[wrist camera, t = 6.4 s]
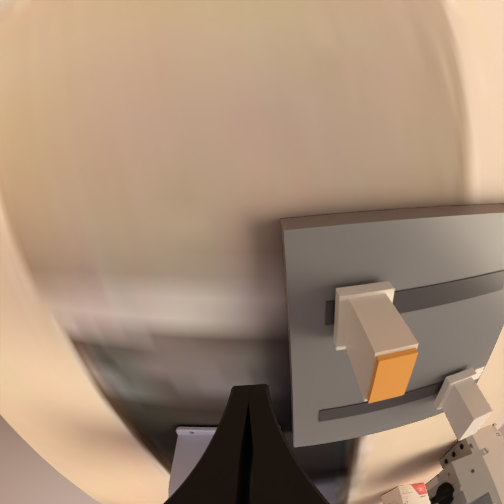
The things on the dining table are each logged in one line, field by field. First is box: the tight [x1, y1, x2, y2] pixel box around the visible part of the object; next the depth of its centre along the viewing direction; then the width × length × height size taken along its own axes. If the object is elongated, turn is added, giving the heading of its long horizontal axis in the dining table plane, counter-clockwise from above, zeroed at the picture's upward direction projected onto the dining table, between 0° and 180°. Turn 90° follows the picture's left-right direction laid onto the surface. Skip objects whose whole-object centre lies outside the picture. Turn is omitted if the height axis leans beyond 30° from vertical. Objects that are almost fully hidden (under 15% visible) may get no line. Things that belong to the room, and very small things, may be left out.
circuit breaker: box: [425, 423, 504, 504], centre depth 23 cm, size 8×14×15 cm, turn 85°
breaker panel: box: [280, 204, 504, 447], centre depth 18 cm, size 18×20×2 cm
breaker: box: [433, 367, 493, 441], centre depth 17 cm, size 3×4×5 cm
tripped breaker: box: [333, 281, 419, 403], centre depth 13 cm, size 3×4×5 cm
